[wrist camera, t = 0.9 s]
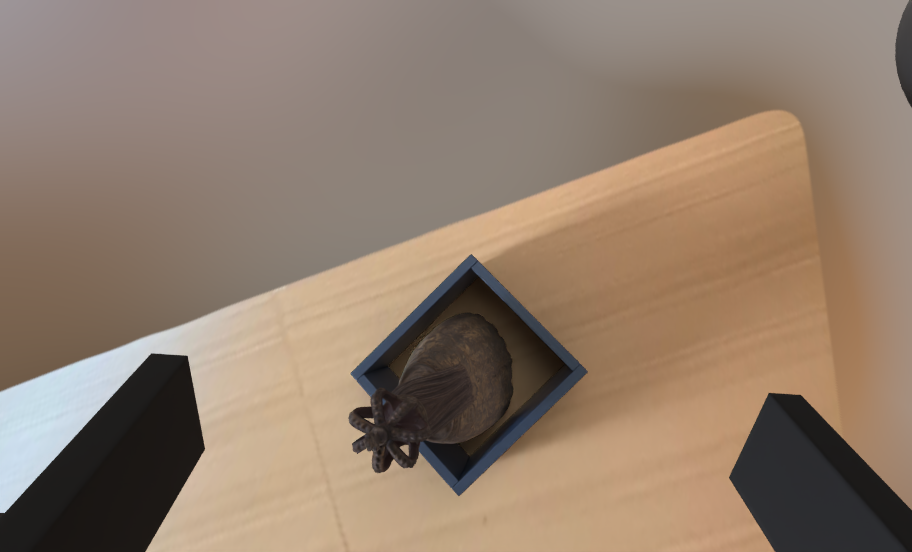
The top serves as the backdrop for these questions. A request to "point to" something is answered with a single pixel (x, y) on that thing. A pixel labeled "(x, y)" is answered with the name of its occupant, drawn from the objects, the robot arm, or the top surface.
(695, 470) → the top surface
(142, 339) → the top surface
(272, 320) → the top surface
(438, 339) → the statue
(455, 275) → the bin
